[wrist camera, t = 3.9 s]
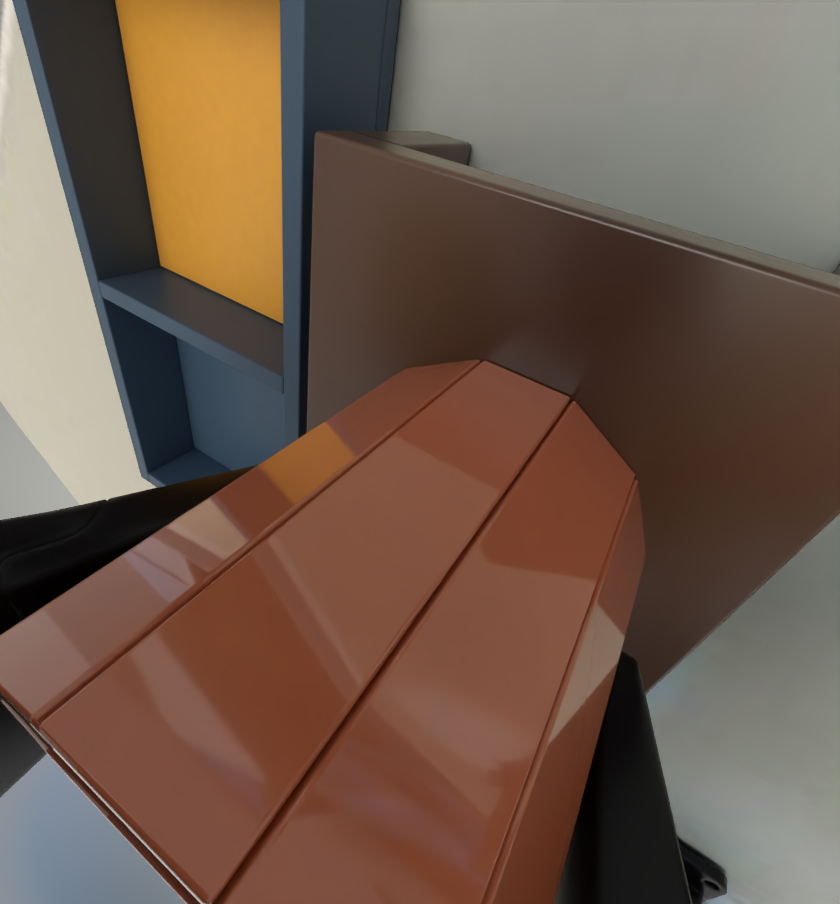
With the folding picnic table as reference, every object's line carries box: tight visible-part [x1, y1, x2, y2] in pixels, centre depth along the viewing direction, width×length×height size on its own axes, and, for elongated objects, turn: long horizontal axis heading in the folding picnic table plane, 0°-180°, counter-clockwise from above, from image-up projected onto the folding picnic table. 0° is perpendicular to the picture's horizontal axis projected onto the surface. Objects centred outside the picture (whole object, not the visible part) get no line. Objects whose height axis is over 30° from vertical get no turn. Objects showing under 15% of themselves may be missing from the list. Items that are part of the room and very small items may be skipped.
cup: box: [0, 359, 646, 904], centre depth 8 cm, size 7×7×8 cm
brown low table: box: [306, 130, 840, 695], centre depth 12 cm, size 10×12×4 cm
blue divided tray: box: [12, 0, 400, 488], centre depth 16 cm, size 9×18×3 cm, turn 168°
